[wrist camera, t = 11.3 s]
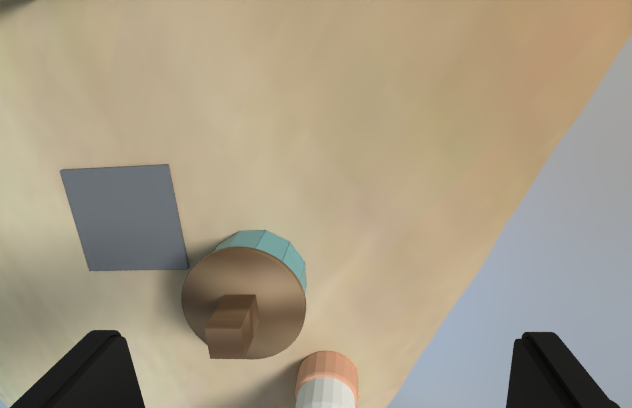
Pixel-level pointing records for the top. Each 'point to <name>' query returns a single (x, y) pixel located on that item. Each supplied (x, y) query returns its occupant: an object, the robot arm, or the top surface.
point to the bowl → (270, 249)
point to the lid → (243, 303)
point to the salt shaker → (327, 382)
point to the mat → (126, 217)
